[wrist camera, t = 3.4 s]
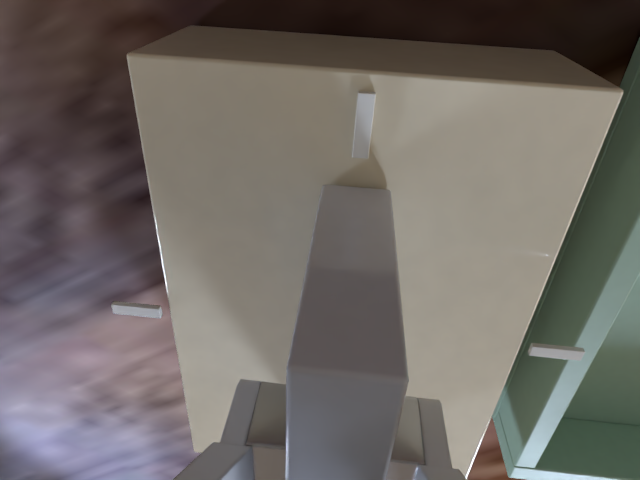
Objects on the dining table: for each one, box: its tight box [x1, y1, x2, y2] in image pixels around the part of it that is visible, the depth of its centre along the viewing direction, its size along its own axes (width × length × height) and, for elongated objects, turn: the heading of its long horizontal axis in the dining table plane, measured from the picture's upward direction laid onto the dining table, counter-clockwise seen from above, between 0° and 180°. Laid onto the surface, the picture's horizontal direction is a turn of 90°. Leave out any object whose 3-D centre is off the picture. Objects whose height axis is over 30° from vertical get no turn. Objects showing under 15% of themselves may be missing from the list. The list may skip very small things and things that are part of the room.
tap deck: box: [111, 25, 623, 479], centre depth 15 cm, size 14×13×4 cm
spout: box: [285, 184, 409, 480], centre depth 10 cm, size 9×2×6 cm, turn 177°
